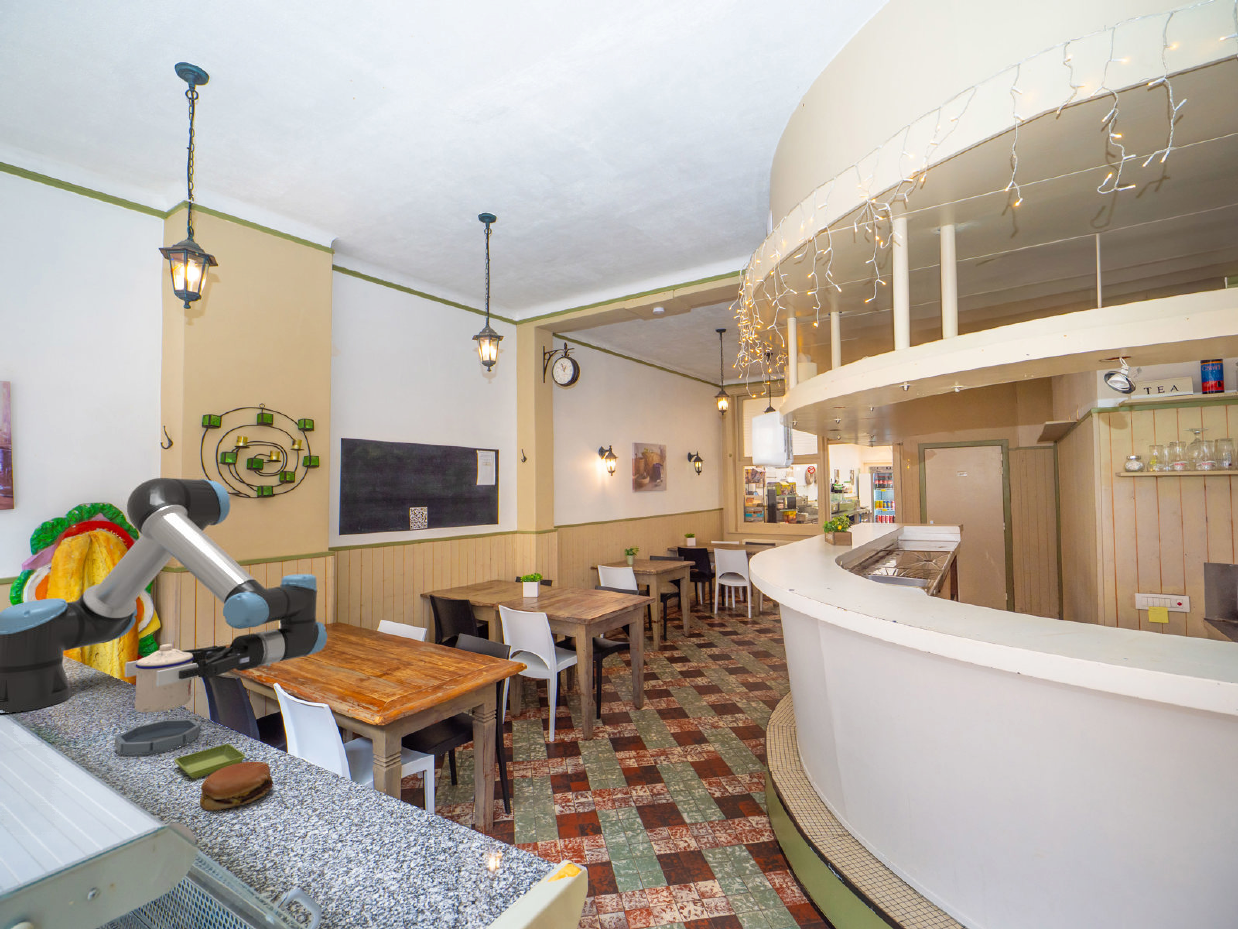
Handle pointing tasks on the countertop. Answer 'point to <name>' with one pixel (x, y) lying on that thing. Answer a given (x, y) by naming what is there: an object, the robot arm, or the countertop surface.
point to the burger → (235, 785)
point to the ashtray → (157, 737)
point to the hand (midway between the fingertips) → (141, 674)
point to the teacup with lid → (166, 695)
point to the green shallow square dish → (209, 760)
